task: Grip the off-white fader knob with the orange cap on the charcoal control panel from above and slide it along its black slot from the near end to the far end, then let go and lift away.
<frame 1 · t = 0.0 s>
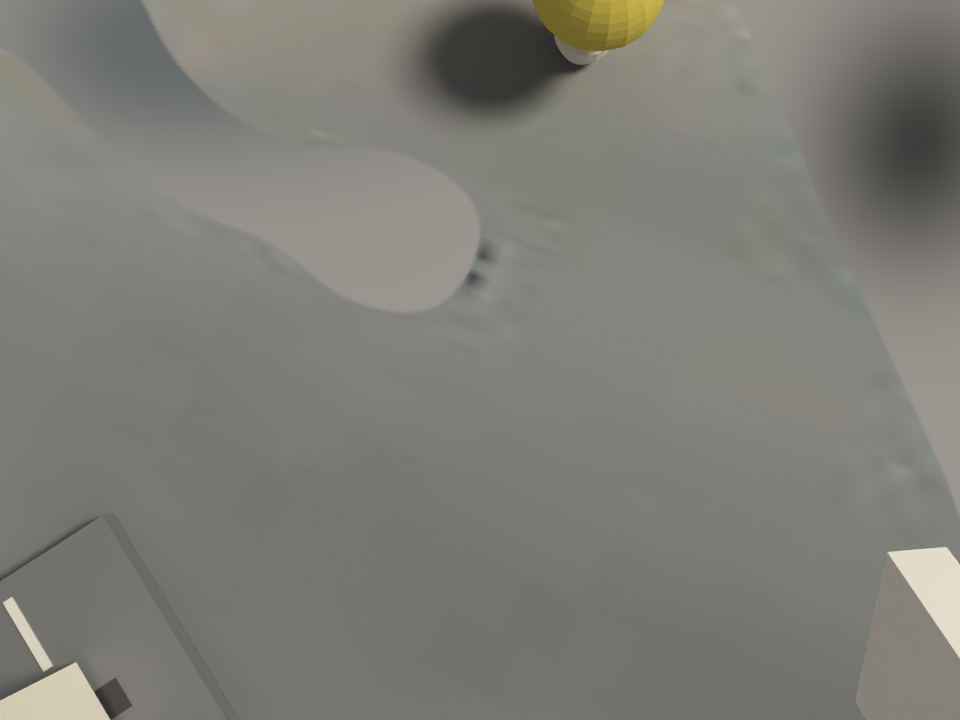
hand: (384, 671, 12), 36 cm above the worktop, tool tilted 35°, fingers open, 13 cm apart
light bulb: (580, 46, 51), on the worktop
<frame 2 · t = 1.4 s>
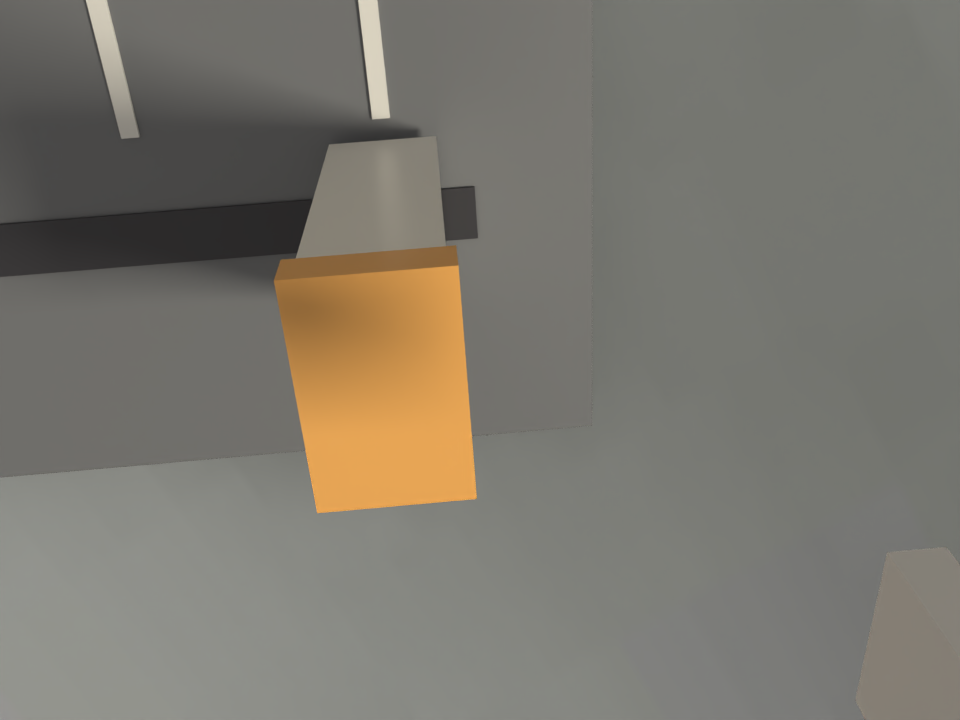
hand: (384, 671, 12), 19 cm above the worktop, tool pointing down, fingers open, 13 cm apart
fader knob: (388, 294, 22), point 7 cm above the worktop, slide at 0.0 cm
fader panel: (168, 220, 28), on the worktop
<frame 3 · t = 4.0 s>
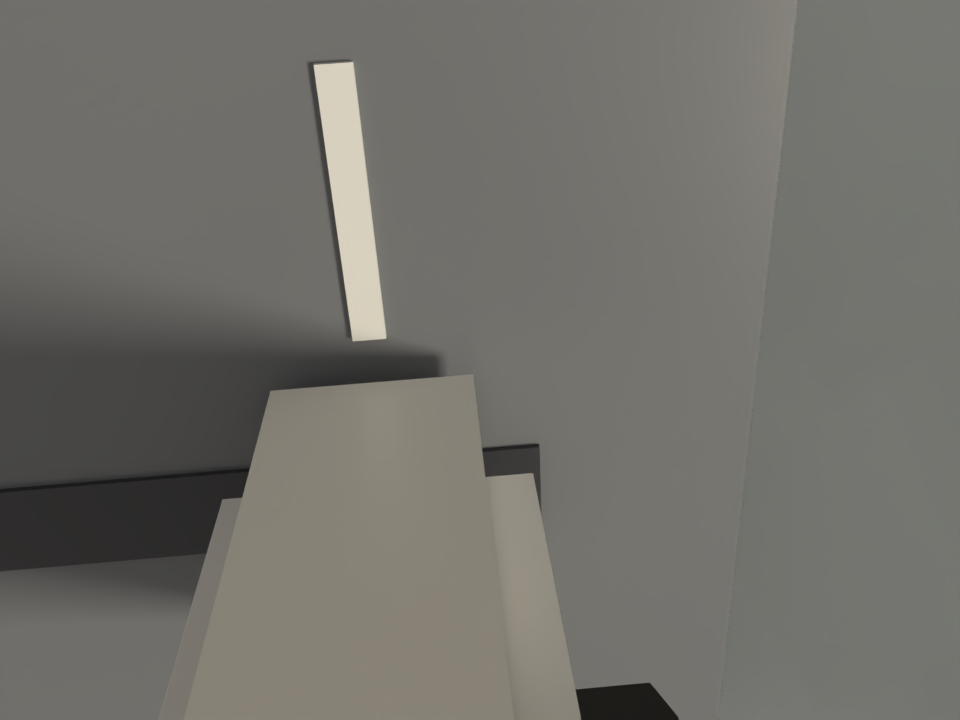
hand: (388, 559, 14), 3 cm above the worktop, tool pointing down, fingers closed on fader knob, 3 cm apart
fader panel: (0, 477, 16), on the worktop
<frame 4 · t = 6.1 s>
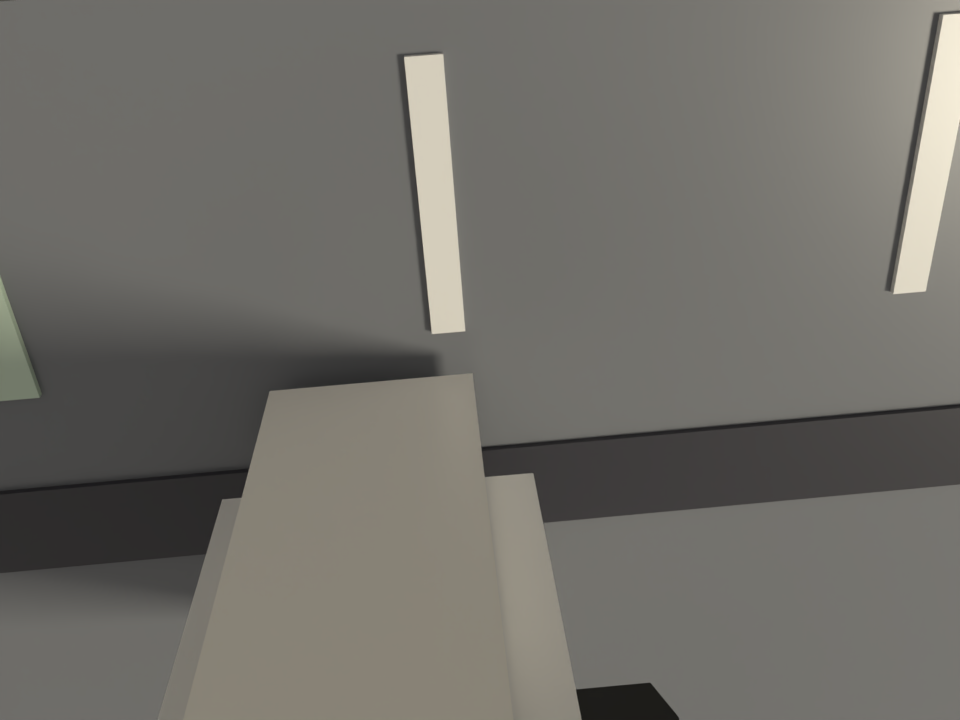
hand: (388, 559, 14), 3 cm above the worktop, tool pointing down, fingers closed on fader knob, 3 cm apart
fader panel: (458, 438, 16), on the worktop
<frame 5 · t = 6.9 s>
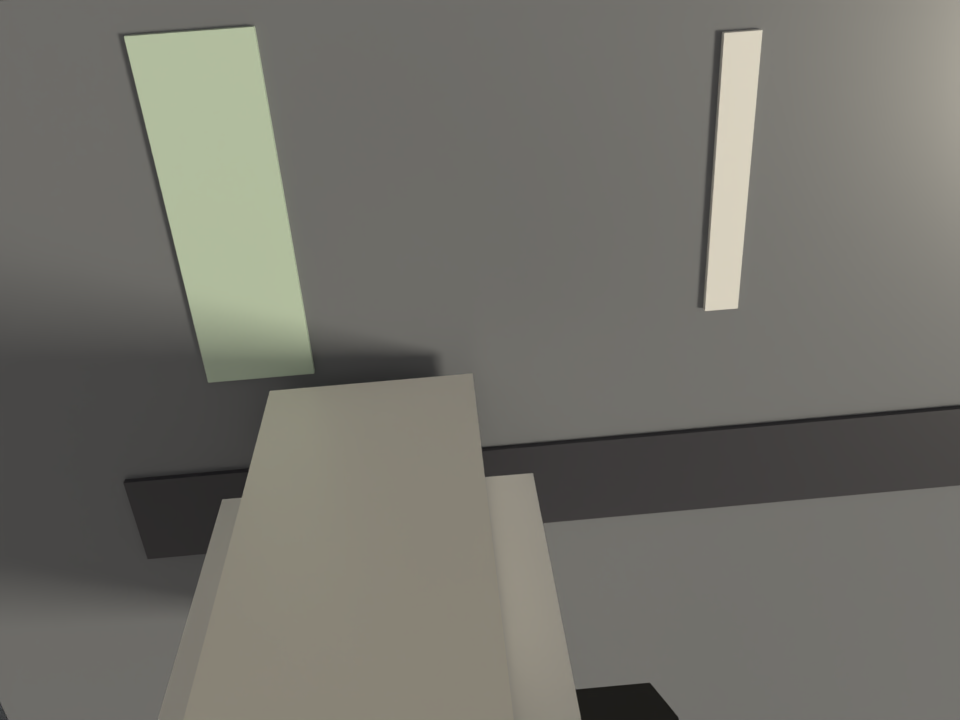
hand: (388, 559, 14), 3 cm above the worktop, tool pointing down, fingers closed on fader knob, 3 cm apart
fader panel: (683, 418, 16), on the worktop
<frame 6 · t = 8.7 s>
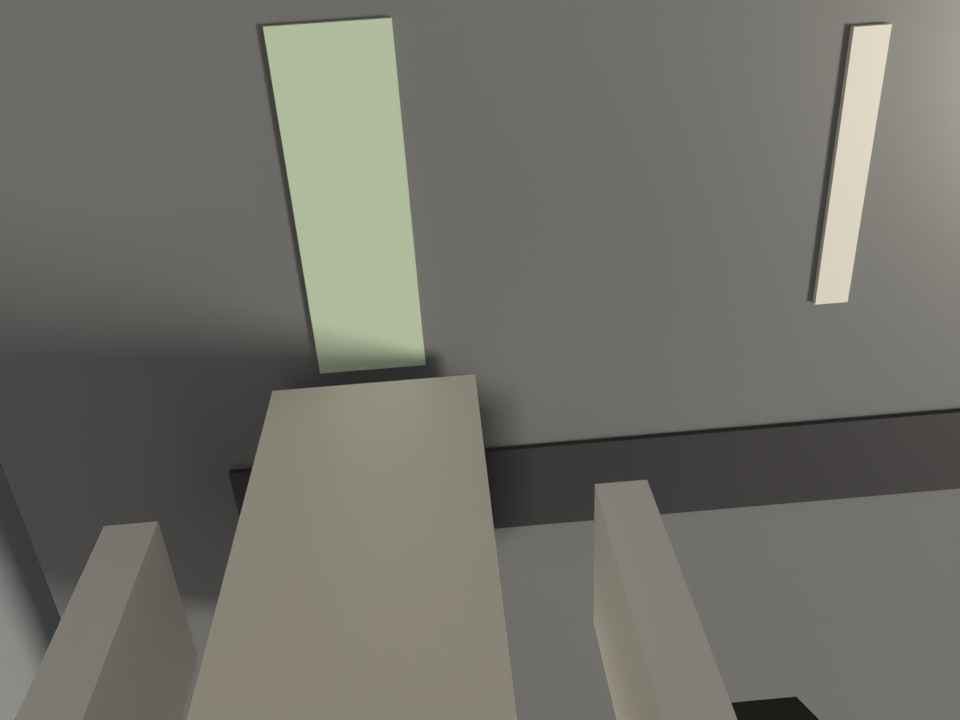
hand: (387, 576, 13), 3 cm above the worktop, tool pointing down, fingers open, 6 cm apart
fader panel: (773, 413, 17), on the worktop
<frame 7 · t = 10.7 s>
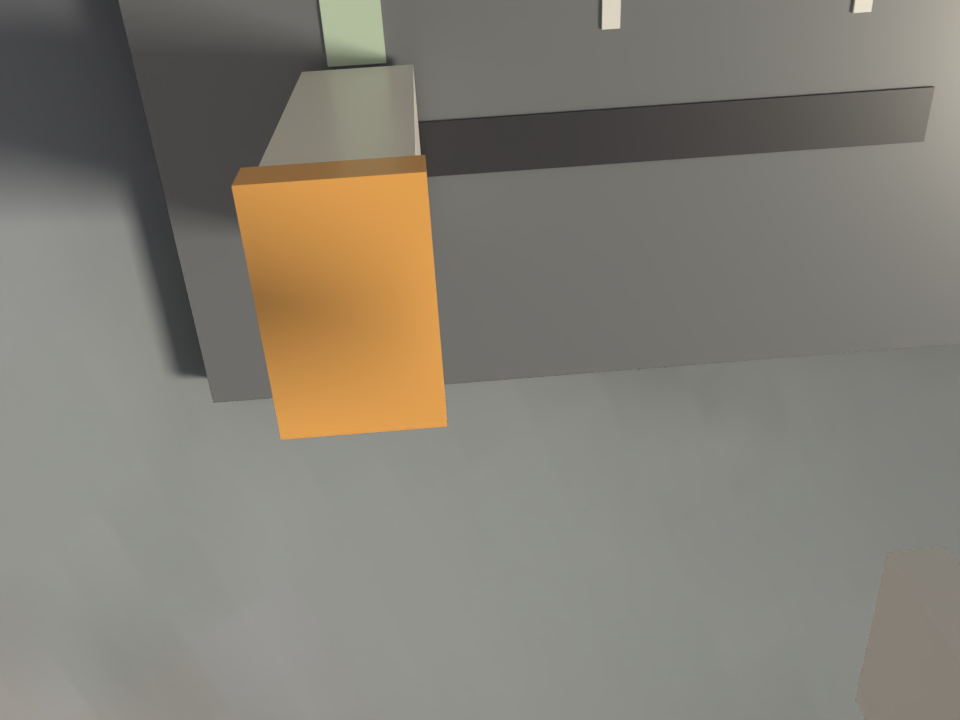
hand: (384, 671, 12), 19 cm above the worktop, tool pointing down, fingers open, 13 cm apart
fader knob: (360, 221, 21), point 7 cm above the worktop, slide at 14.0 cm
fader panel: (598, 122, 28), on the worktop
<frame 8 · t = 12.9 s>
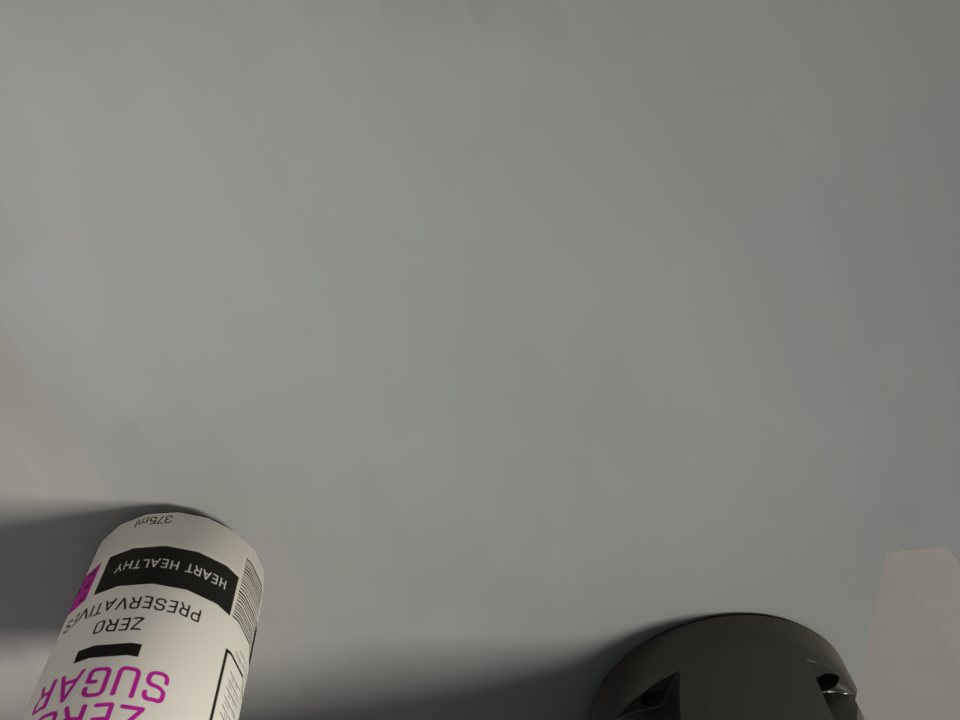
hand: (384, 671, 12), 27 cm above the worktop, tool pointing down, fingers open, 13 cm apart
supplement can: (184, 565, 45), on the worktop
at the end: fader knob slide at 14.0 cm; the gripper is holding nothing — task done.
